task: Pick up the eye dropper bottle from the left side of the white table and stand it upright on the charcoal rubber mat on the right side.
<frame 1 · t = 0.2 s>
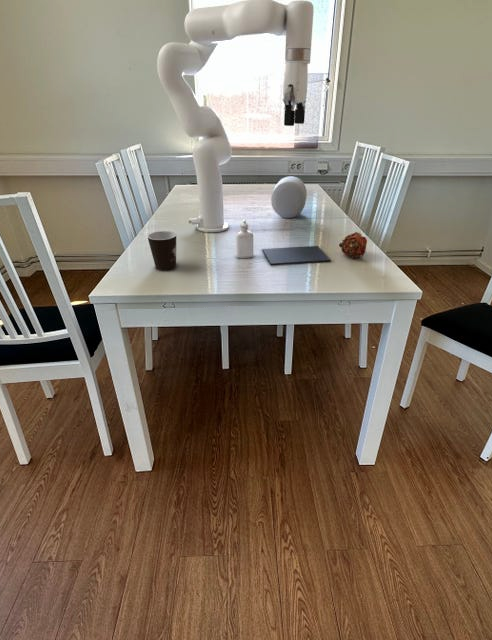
hand: (294, 124, 126), 37 cm above the table, tool pointing down, fingers open, 9 cm apart
eye dropper bottle: (244, 257, 132), on the table
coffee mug: (169, 266, 125), on the table
grey egg shape: (285, 212, 180), on the table
mat: (295, 255, 133), on the table
dragon fruit: (351, 256, 134), on the table
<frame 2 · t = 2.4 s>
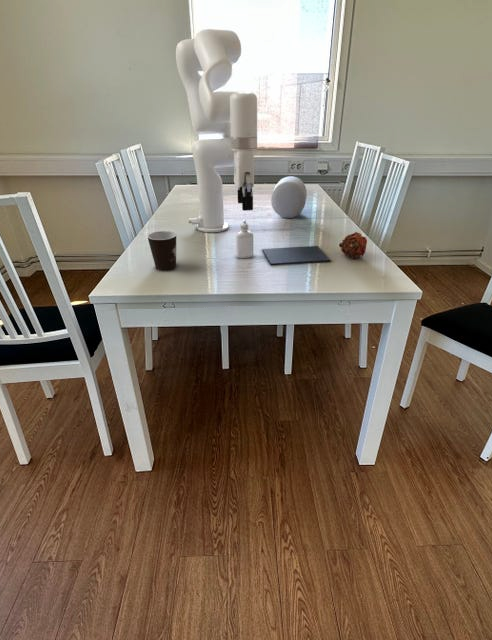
hand: (245, 206, 123), 16 cm above the table, tool pointing down, fingers open, 9 cm apart
nothing on the table moved.
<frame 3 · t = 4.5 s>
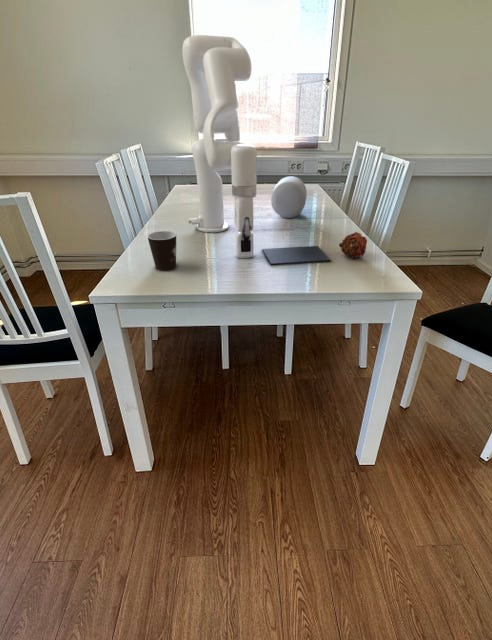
hand: (244, 248, 131), 3 cm above the table, tool pointing down, fingers closed on eye dropper bottle, 3 cm apart
eye dropper bottle: (244, 257, 132), on the table, touching gripper
everything else where it was.
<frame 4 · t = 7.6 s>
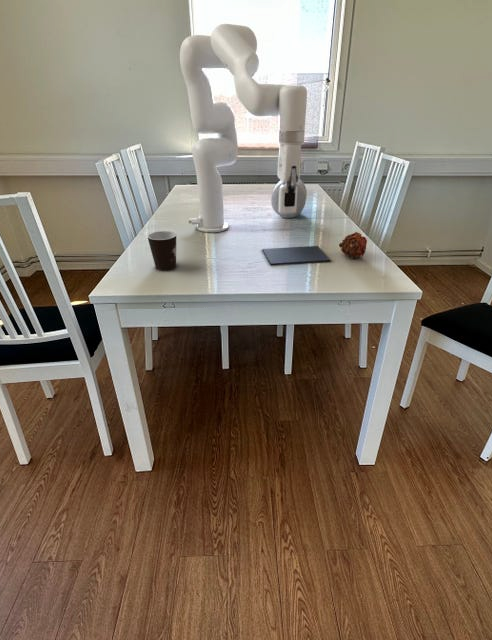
hand: (287, 204, 123), 17 cm above the table, tool pointing down, fingers closed on eye dropper bottle, 3 cm apart
eye dropper bottle: (287, 213, 125), point 14 cm above the table, touching gripper
everything else where it was.
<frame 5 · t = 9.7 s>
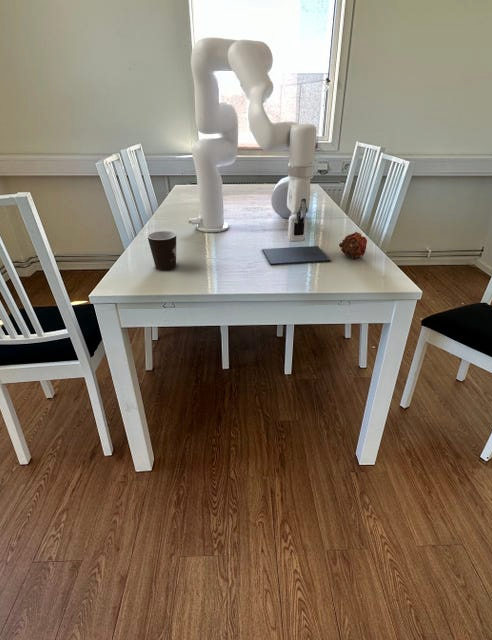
hand: (296, 232, 129), 8 cm above the table, tool pointing down, fingers closed on eye dropper bottle, 3 cm apart
eye dropper bottle: (296, 241, 130), point 5 cm above the table, touching gripper
everything else where it was.
when the fingers open (3 cm above the table, at t = 11.1 s): eye dropper bottle stays where it is, resting on mat.
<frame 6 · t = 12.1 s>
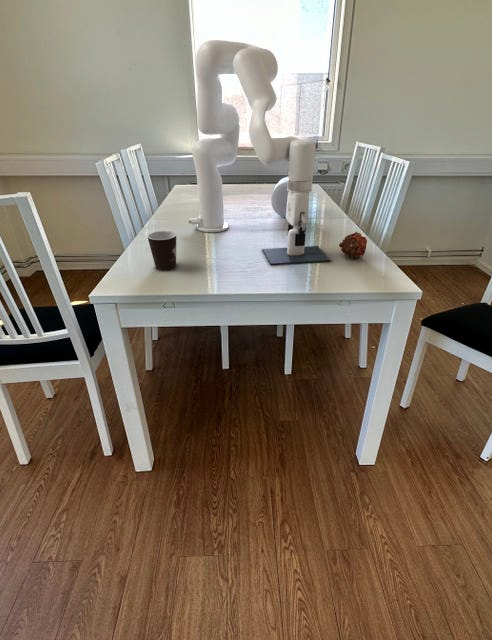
hand: (295, 240, 130), 5 cm above the table, tool pointing down, fingers open, 9 cm apart
eye dropper bottle: (295, 254, 133), resting on mat
everything else where it was.
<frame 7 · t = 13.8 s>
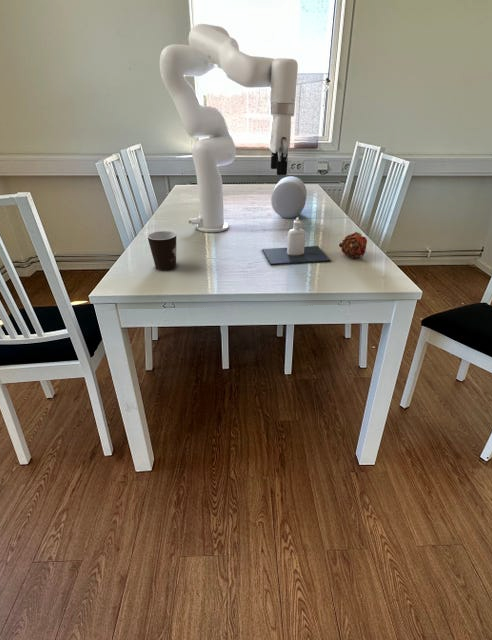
hand: (278, 171, 129), 24 cm above the table, tool pointing down, fingers open, 9 cm apart
nothing on the table moved.
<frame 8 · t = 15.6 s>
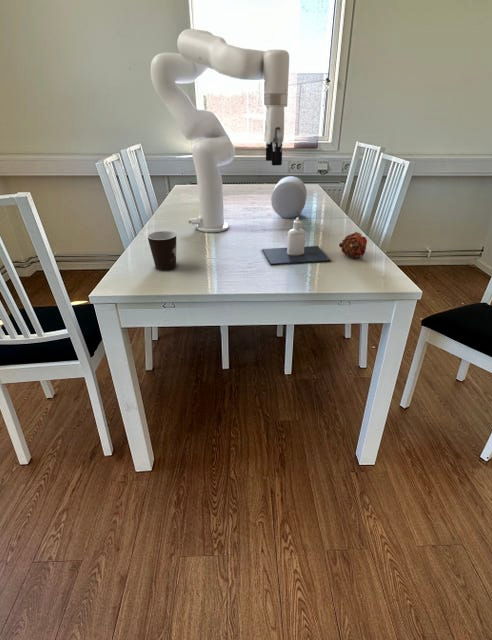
hand: (273, 162, 130), 26 cm above the table, tool pointing down, fingers open, 9 cm apart
nothing on the table moved.
at the end: eye dropper bottle inside the target area on the mat (0.1 cm from its centre), point 0.4 cm above the mat's base; eye dropper bottle tilted 0°; the gripper is holding nothing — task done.
